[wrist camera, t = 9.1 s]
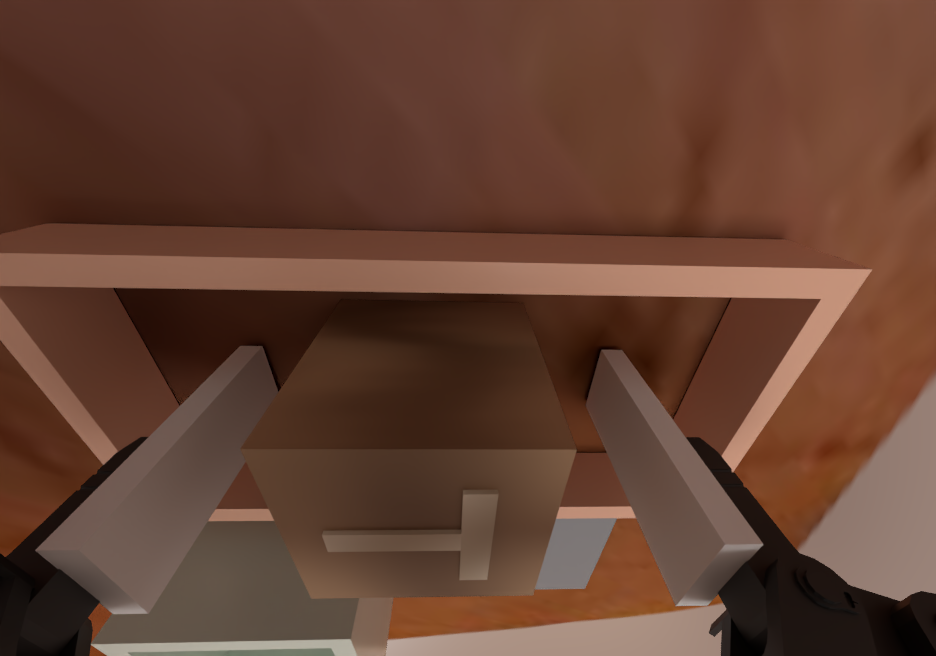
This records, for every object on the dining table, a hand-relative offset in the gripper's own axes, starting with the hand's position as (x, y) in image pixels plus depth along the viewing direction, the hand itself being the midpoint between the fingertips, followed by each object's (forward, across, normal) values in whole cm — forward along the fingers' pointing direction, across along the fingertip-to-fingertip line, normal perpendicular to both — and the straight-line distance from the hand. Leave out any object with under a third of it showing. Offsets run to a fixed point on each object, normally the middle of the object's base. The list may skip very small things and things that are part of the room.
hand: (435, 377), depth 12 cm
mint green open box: (0, -7, -11) cm, 13 cm away
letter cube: (0, 0, 0) cm, 0 cm away
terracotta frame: (0, 0, 0) cm, 0 cm away
